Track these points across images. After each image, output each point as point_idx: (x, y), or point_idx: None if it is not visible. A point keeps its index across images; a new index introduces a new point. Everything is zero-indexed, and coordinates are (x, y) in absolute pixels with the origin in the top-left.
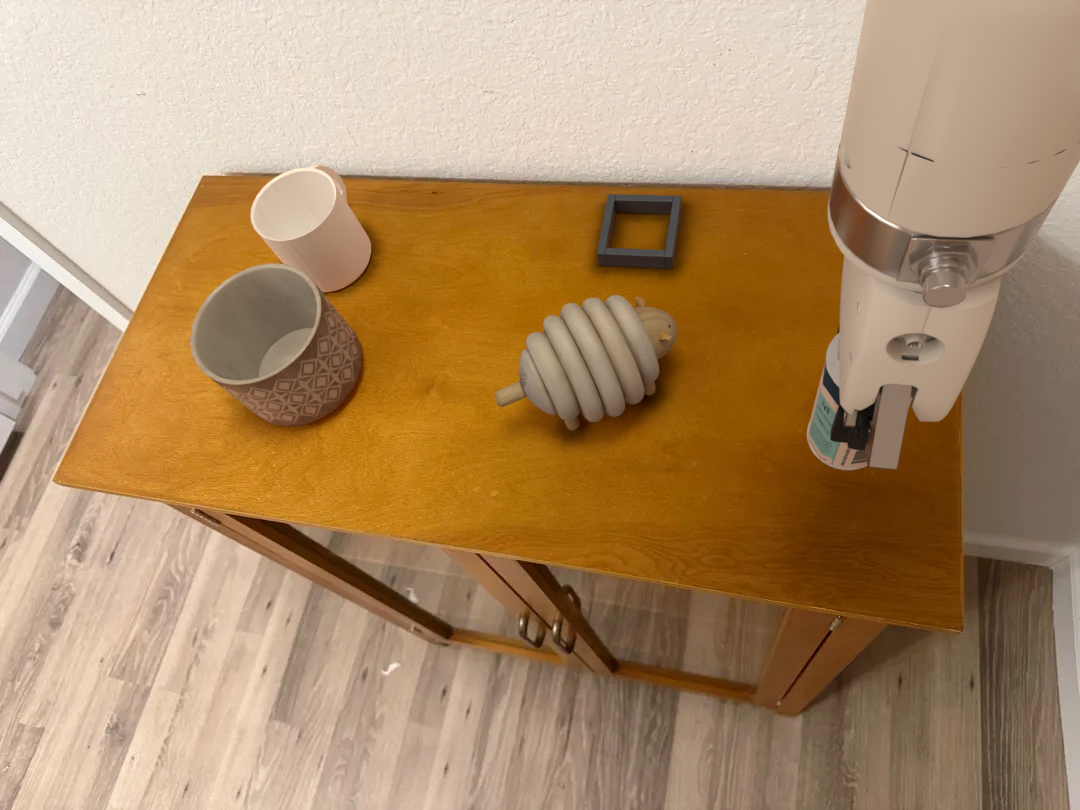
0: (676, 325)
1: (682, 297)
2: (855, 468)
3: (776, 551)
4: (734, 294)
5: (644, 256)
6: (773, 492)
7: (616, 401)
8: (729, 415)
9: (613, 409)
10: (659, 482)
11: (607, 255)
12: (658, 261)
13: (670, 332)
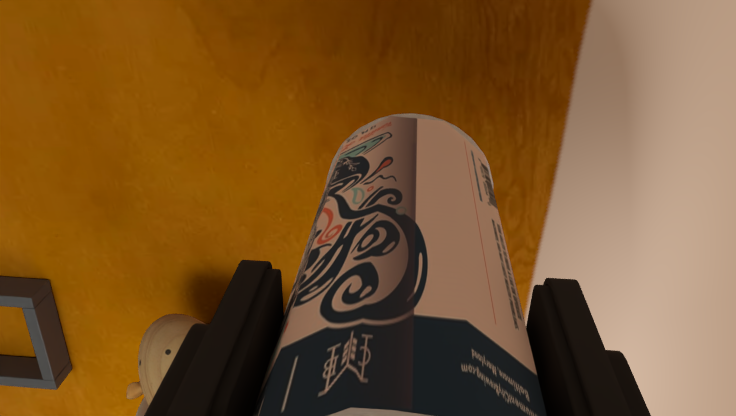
0: (160, 328)
1: (94, 265)
2: (490, 177)
3: (497, 129)
4: (68, 195)
5: (41, 332)
6: None
7: None
8: (280, 198)
9: None
10: None
11: (55, 375)
12: (43, 308)
13: (178, 346)
